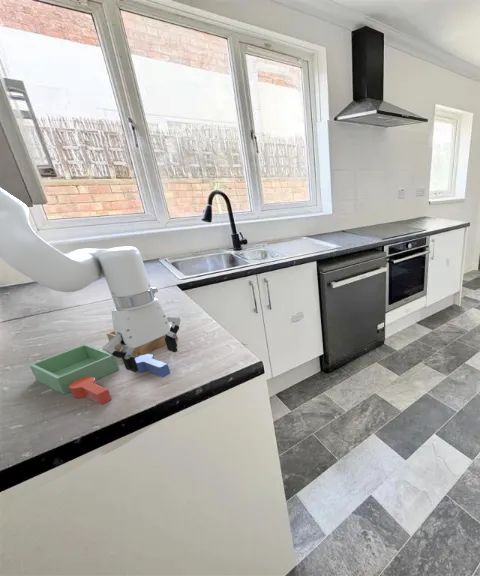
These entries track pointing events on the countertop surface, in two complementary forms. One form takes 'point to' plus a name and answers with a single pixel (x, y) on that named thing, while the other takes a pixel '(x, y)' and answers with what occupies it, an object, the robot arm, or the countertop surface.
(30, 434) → the countertop surface
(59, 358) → the sage bin
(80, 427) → the countertop surface
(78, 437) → the countertop surface
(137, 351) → the oak bin
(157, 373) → the blue block
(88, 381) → the red t-shaped block
